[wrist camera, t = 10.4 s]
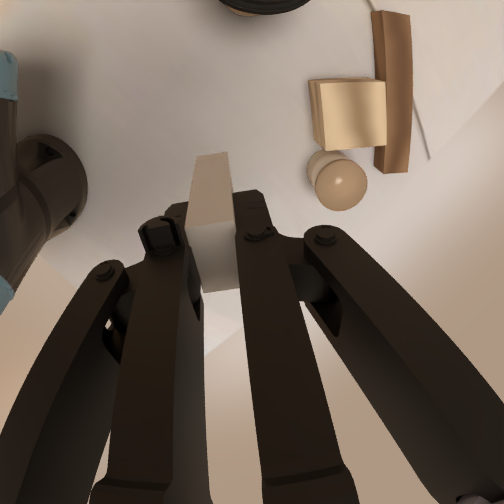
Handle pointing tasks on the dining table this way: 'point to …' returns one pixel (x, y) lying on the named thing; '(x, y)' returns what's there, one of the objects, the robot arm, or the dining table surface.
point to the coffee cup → (262, 6)
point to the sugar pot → (336, 180)
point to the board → (394, 87)
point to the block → (348, 112)
